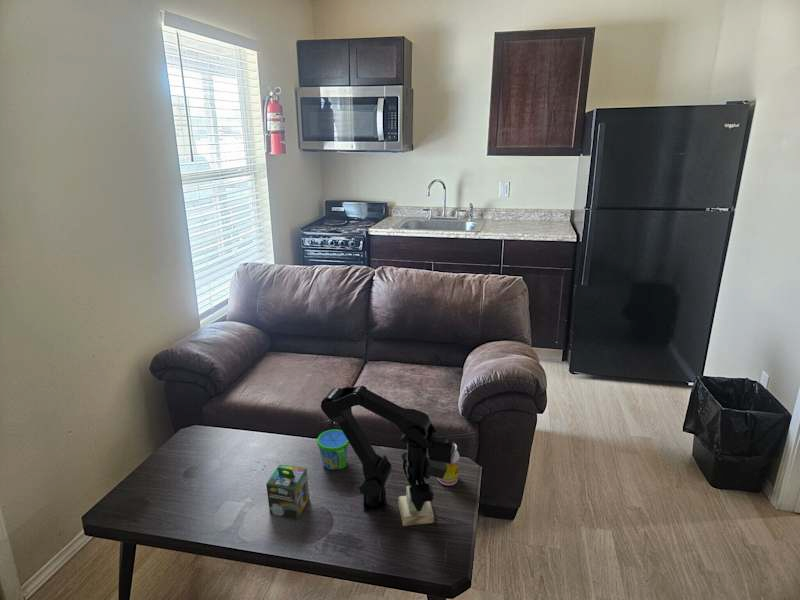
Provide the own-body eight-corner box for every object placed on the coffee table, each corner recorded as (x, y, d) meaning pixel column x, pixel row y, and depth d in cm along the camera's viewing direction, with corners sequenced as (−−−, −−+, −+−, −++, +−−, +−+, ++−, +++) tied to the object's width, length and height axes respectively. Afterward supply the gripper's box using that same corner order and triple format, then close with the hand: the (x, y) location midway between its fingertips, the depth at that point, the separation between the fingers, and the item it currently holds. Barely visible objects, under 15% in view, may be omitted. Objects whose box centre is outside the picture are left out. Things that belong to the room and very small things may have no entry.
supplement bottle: (456, 488, 163) (459, 454, 158) (436, 484, 164) (437, 451, 160) (459, 474, 169) (461, 441, 164) (438, 471, 170) (440, 438, 166)
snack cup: (356, 474, 168) (355, 448, 165) (325, 482, 164) (323, 456, 161) (342, 447, 182) (342, 422, 178) (313, 453, 178) (312, 428, 174)
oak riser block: (403, 525, 148) (403, 517, 147) (398, 503, 156) (398, 495, 155) (433, 522, 149) (434, 514, 148) (427, 500, 157) (427, 492, 156)
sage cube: (408, 512, 149) (409, 498, 147) (406, 499, 153) (406, 486, 152) (425, 510, 150) (426, 496, 148) (422, 498, 154) (422, 484, 152)
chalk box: (310, 498, 158) (307, 458, 152) (297, 520, 149) (294, 478, 144) (282, 493, 160) (278, 453, 154) (268, 514, 151) (264, 473, 146)
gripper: (453, 474, 138) (450, 520, 143) (437, 433, 155) (435, 475, 161) (412, 478, 136) (411, 524, 142) (401, 436, 153) (400, 479, 159)
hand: (415, 499), depth 151 cm, fingers open, 9 cm apart
